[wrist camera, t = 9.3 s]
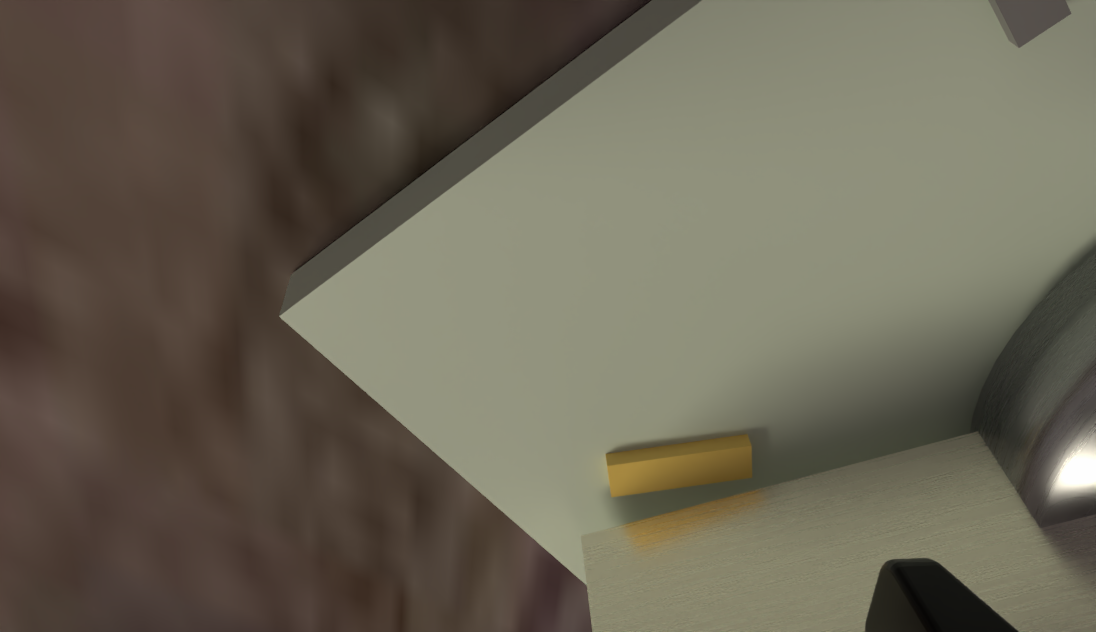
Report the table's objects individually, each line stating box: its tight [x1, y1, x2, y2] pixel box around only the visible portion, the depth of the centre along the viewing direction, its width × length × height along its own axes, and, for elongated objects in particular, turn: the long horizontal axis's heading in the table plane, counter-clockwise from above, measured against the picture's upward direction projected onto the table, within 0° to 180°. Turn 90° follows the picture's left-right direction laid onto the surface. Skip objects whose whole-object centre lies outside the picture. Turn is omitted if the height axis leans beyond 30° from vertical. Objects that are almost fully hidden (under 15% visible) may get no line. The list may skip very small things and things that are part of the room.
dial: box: [581, 253, 1096, 632], centre depth 13 cm, size 12×7×4 cm, turn 107°
